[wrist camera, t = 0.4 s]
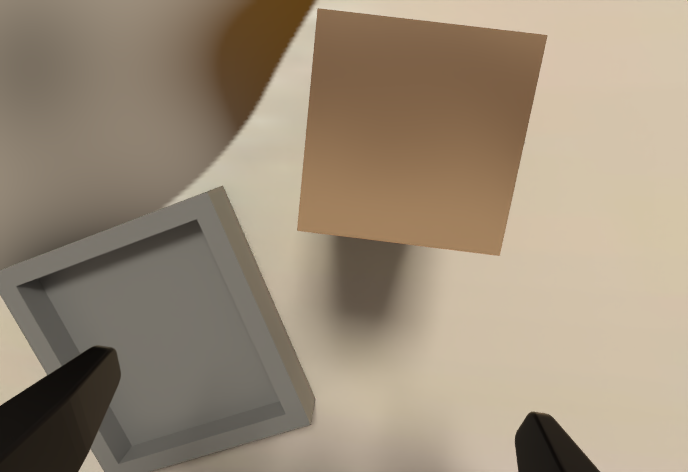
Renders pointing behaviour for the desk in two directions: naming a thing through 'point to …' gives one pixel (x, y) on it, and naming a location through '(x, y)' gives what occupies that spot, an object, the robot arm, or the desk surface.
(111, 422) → the tray
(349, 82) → the block
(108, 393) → the robot arm
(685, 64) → the desk surface
